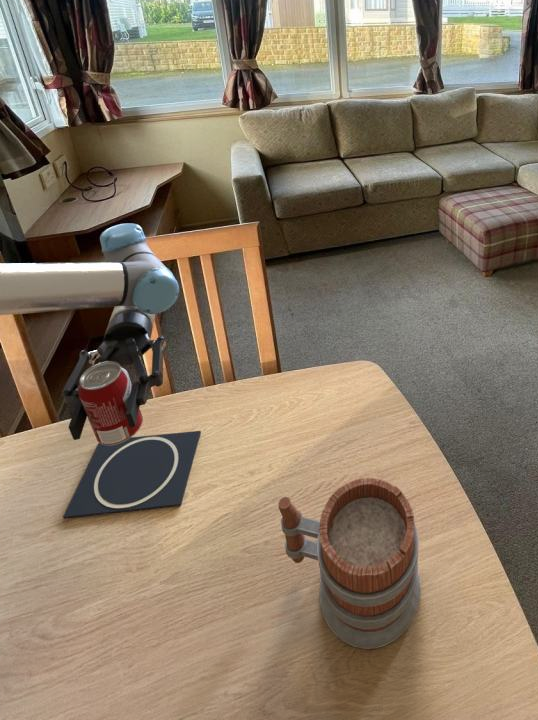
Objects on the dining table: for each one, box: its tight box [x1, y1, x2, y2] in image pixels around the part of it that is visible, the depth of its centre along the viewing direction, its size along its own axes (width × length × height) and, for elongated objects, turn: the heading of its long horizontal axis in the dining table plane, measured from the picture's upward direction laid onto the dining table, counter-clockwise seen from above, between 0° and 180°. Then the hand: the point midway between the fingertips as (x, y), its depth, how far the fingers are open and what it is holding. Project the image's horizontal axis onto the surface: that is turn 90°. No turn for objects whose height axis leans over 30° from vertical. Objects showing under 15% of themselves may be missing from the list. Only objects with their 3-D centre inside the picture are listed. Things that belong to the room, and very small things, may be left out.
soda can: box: [78, 361, 144, 446], centre depth 75 cm, size 7×7×12 cm
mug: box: [277, 477, 422, 650], centre depth 65 cm, size 14×19×15 cm
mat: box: [62, 430, 202, 520], centre depth 83 cm, size 18×14×1 cm
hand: (102, 426), depth 70 cm, fingers closed on soda can, 7 cm apart
